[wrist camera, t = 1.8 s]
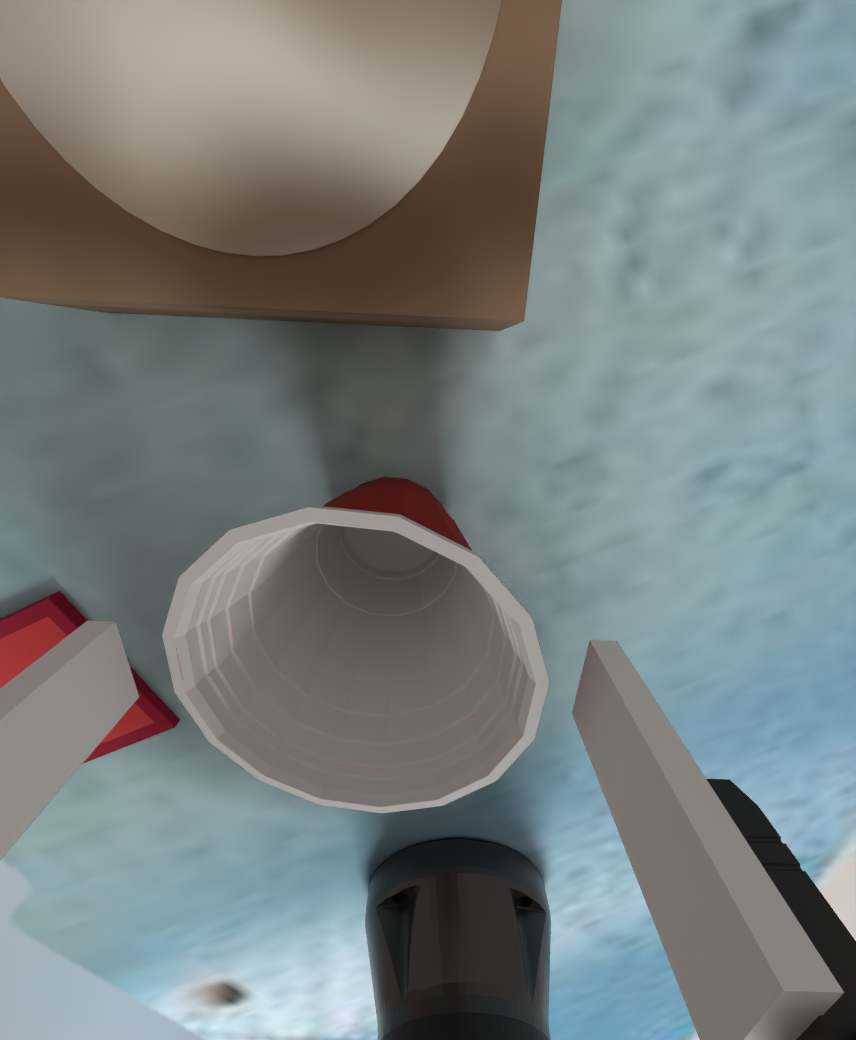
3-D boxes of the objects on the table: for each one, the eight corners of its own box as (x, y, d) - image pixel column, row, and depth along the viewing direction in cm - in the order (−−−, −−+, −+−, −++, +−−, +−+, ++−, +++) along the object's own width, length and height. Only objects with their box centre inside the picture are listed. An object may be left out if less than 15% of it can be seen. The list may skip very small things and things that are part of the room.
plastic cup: (267, 440, 20) (68, 538, 9) (481, 415, 20) (548, 486, 9) (314, 618, 24) (216, 839, 13) (493, 601, 24) (549, 815, 13)
